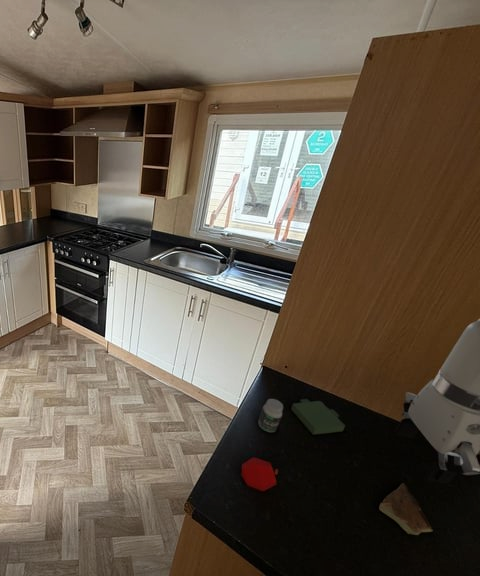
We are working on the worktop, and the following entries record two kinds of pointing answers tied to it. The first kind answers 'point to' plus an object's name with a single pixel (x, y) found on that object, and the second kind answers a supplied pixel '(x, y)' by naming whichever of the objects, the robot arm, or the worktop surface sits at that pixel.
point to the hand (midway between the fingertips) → (418, 456)
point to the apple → (258, 474)
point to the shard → (405, 511)
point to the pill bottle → (270, 415)
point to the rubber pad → (317, 417)
